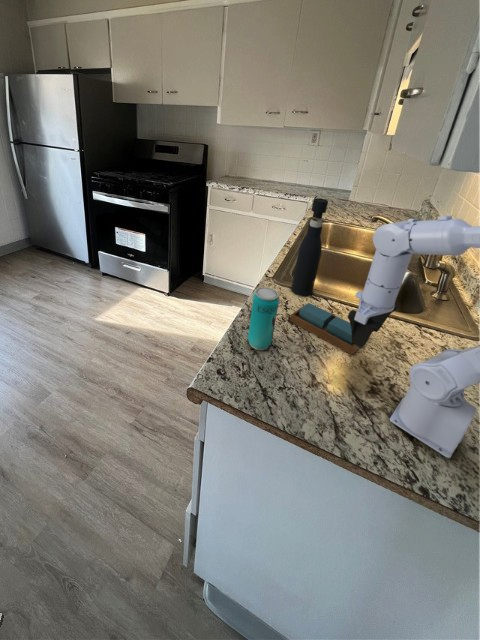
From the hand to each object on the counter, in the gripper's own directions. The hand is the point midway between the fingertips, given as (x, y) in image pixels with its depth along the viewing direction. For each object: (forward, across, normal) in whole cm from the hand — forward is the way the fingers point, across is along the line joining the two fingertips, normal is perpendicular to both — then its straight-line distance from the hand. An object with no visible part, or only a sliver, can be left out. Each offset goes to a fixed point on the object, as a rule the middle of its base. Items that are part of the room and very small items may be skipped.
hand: (365, 336), depth 67 cm
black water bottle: (+10, -21, -26) cm, 35 cm away
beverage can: (+10, +10, -19) cm, 24 cm away
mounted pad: (+9, -9, -15) cm, 20 cm away
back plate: (+9, -9, -11) cm, 17 cm away
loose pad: (+9, -9, -7) cm, 14 cm away
